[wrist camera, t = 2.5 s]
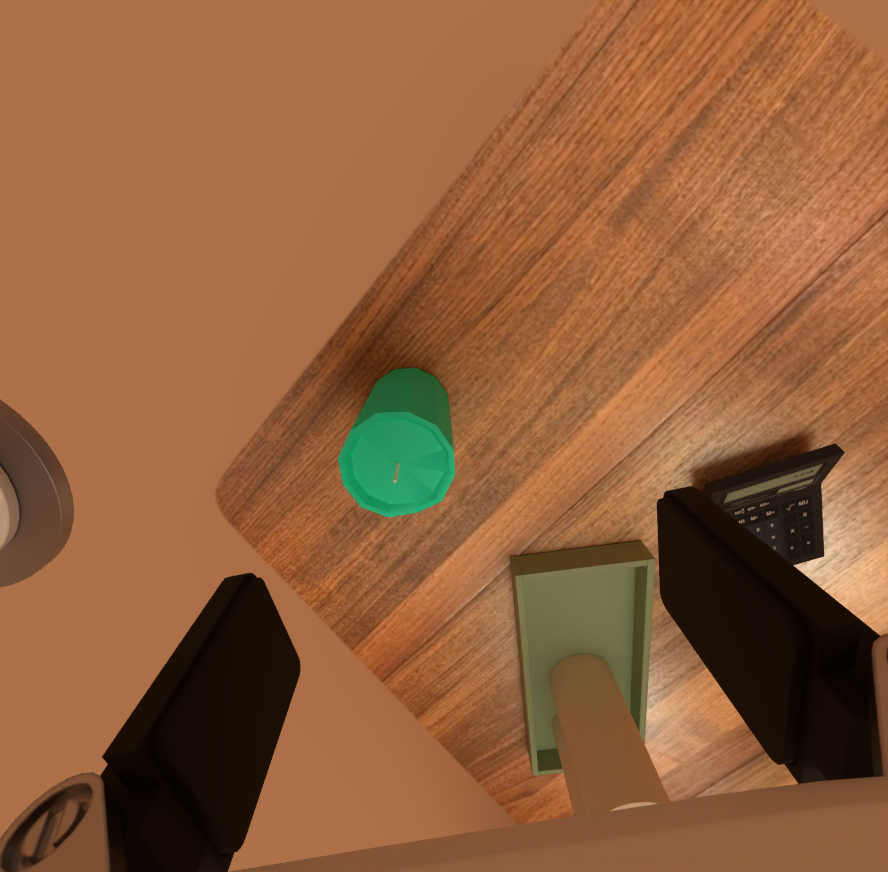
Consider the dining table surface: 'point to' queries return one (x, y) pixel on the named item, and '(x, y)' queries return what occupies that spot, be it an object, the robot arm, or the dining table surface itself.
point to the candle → (400, 446)
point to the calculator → (781, 502)
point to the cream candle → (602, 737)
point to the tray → (581, 629)
